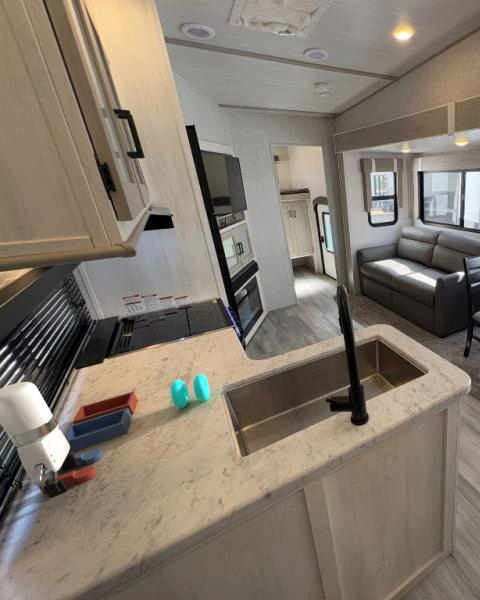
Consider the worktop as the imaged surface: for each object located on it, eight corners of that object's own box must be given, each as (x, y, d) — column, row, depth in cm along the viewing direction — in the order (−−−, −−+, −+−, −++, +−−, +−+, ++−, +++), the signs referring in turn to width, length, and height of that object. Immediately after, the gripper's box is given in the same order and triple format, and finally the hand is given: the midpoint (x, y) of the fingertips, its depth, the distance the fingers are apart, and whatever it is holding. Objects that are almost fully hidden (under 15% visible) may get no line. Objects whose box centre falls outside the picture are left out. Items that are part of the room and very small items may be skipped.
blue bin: (65, 454, 92) (59, 444, 91) (75, 435, 99) (70, 425, 98) (127, 433, 99) (122, 423, 98) (132, 417, 106) (128, 407, 105)
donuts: (209, 405, 110) (201, 381, 107) (176, 415, 106) (167, 391, 103) (211, 390, 119) (204, 368, 115) (180, 398, 115) (172, 376, 111)
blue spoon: (52, 478, 84) (47, 470, 83) (58, 467, 88) (53, 460, 87) (101, 460, 89) (97, 453, 88) (104, 451, 93) (101, 444, 92)
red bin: (77, 431, 101) (72, 421, 100) (85, 416, 108) (81, 406, 107) (133, 414, 108) (129, 404, 107) (137, 400, 115) (133, 391, 114)
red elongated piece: (41, 498, 79) (36, 490, 78) (48, 486, 82) (43, 478, 81) (94, 478, 84) (90, 470, 83) (98, 467, 87) (94, 460, 86)
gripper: (28, 415, 81) (58, 464, 87) (-8, 461, 67) (31, 515, 73) (67, 404, 85) (93, 452, 91) (40, 446, 71) (73, 499, 77)
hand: (65, 480), depth 82 cm, fingers open, 8 cm apart
